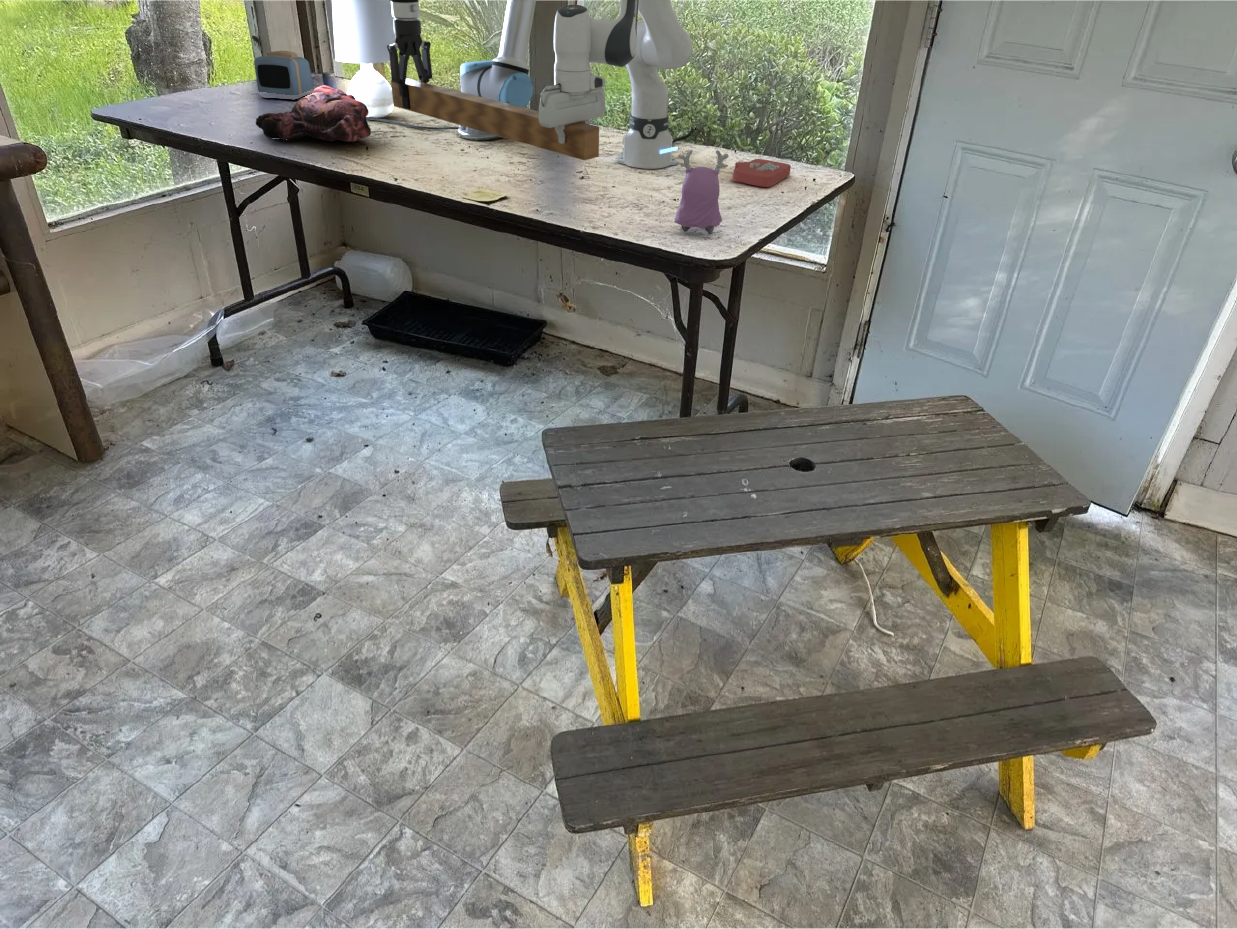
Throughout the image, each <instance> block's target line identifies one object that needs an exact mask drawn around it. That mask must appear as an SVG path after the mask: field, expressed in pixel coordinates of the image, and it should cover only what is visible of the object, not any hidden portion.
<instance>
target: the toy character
mask: <svg viewBox="0 0 1237 929" xmlns="http://www.w3.org/2000/svg"><path fill="white" fill-rule="evenodd" d="M692 154H693V149H690V150H689V151H687V152H686V154H685V155H684V154H677V157H678V159H680V160H682V161H683V162H679V163H678V165H679V166H680V167H681V168H682V167H683V168H685V176H684V179H683V183H682V187H681V198H680V202H679V206H678V208H677V210H676V214H675V217H674V223H676V224H678V225H680V227H681V230H682V231H683V232H684V233H686V232H687V231H689V230H690V229H691V228H699V229H704V230H705V232H707V234H711V233H713V231H714V228H716V227H718V226H721V223H722V222H723V218H722V215H721V212H720V203H719V197H720V181H719V174H720V169H723V168H728V166H729V165H728V164H724V161H725V160H726V159H728V158H730V157H729V156H730V155H729V154H728V153H723V154H722V153H721V151H720V150H718V149H716V150H715V154H716V157H717V160H716V165H715V167H714V168H713V169H712V168H711V167H707V166H695V167H691V164H690V157H691V155H692Z"/></svg>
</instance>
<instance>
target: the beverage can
mask: <svg viewBox="0 0 1237 929" xmlns="http://www.w3.org/2000/svg"><path fill="white" fill-rule="evenodd" d="M321 77H322V86H323V85H326V86H329V87H331V88H334V89H337V90H338V88H337V82H336V74H334V72H333V71H323V72H322V74H321Z"/></svg>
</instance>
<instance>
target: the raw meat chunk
mask: <svg viewBox="0 0 1237 929" xmlns="http://www.w3.org/2000/svg"><path fill="white" fill-rule="evenodd" d="M368 114H369V110H368V109H367V107H366V105H365V104H364V103H362V102H360V101H358V100H356V99H355V97H354V96H353V95H352V94H349V95H348V94H347V93H345V92H344V91H343V90H341V89H338V88H337V89H334V88H331V87H329V86H326V85H323V84H322V85H320V86H318V87H316V88H314V91H313V93H312V94H310V95H307V96H305V97H302V98H300V99H298V100H297V102H296V103H295V104H294V105H293V107H292V108H291V111H286V112H277V113H273V112H267V113H262V114H260V115H258V117H257V118H256V119H255V125H256V126H257V127H258V128H259V129H260V130H262V133H263V135H264V136H266V137H267V138H269V137H270V138H269V139H271V138H280V139H279V140H283V141H286V142H288V141H290V140H291V139H292V137H294V136H295V135H299V134H301V133H302V134H304V135H307V136H309V137H312V138H314V139H316V140H323V141H326V142H335V141H341V142H346V143H348V142H352V143H353V142H357V141H358V140H359V139H364V138H369V137H370V136H371V135H372V129H371V126H370V125H369V122H368V120H367V119H366V116H368ZM286 139H287V140H286ZM271 140H275V139H271Z"/></svg>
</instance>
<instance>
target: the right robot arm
mask: <svg viewBox="0 0 1237 929" xmlns="http://www.w3.org/2000/svg"><path fill="white" fill-rule="evenodd" d="M638 14H639V16H640V18H641V20H642V22H641V21H638ZM553 51H554V56H555V61H554V64H553V83H554V84H552V85H546V86H545V87H544V88H543V89H542V90H541V92H540V99H539V106H538V111H539V123H540V125H541V126H543V127H547V128H553V127H555V130H556V132H557V134H558V141H559V143H561V144H564V143H567V136H566V135H565V134H564V132H563V130H564V129H565V125H567V124H571V123H576V122H583V123H586V124H590V120H594V119H598V118H603V116H604V115H605V112H606V91H605V90H604V87H605V86H606V79H605V78H604V77H602V76H599V75H596V74H593V73H592V72H591V70H592V68H591V63H594V64H603V65H609V66H612V67H613V66H614V67H619V68H623V67H625V69H626V71H627V75H628V78H629V82H630V89H631V91H630V92H631V103H630V104H631V106H630V108H631V109H630V114H629V119H628V126H629V129H628V131H627V132H625V134H624V135H623V137H622V145H623V147H622V152H621V153H620V155H619V156H618V157H617V159H616V163H617V164H621V165H622V164H623V165H626V166H628V167H632V168H635V169H636V168H637V169H644V170H645V169H646V170H648V169H649V170H654V169H655V170H657V169H663V168H667V167H669V166H670V167H671V166H676V165H678V160H677V159H676V158H675V157H674V156H673V152H675V151H677V150H678V148H679V147H678V146H673V144H675V143H677V142H679V141H683V140H686V139H688V138H690V137H691V135H692V133H693V132H694V131H698V129H697V128H698V127H696V128H695V129H692V128H691V129H690V130H689V131H688V133H687V134H685V135H683V136H679V137H676V138H674V139H673V136H672V135H671V133H670V132H669V130H668V129H669V124H670V120H669V119H670V118H669V117H670V116H669V115H668V112H669V110H668V109H669V94H670V91H669V87H668V85H667V84H666V83H665V81H664V80H663V79H662V77H661V76H660V74H659V71H658V69H659V68H660V69H664V70H670V69H671V70H672V69H680V68H684V67H685V66H686V64H688V62H689V61H690V59H691V56H692V52H693V41H692V38H691V36H690V34H689V33H688V32H687V31H686V30H685V29H684V28H683V26H682V25H681V23H680V22H679V20H678V18H677V16H676V14H675V10H674V8H673V5H672V1H671V0H620V1H619V12H618V16H617V18H613V19H601V18H600V19H599V18H590V13H589V10H588V8H587V7H586V6H584V5H581V4H568V5H563V6H561V7H559V8H558V9H557V10H556V14H555V18H554V26H553Z"/></svg>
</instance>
